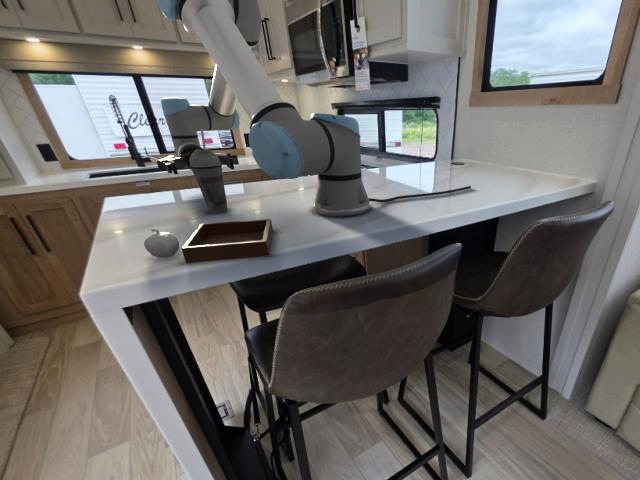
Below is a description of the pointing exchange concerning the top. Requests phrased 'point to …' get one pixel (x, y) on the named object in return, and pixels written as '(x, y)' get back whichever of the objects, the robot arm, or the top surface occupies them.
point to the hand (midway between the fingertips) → (204, 166)
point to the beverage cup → (209, 178)
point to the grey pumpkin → (161, 244)
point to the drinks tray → (229, 241)
